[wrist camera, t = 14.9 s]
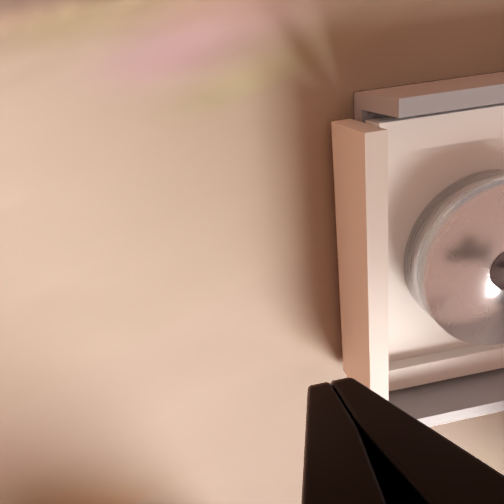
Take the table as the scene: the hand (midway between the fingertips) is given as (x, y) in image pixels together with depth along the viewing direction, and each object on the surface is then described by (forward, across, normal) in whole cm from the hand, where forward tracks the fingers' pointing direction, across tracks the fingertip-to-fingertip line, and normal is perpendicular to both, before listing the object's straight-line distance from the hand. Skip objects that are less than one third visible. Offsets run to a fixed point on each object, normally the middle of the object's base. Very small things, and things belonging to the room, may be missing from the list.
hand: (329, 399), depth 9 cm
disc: (+10, -10, +3) cm, 14 cm away
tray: (+12, -10, +3) cm, 15 cm away
